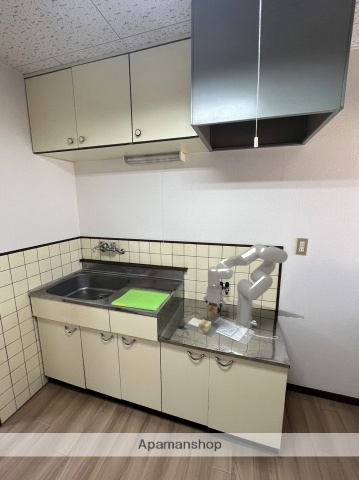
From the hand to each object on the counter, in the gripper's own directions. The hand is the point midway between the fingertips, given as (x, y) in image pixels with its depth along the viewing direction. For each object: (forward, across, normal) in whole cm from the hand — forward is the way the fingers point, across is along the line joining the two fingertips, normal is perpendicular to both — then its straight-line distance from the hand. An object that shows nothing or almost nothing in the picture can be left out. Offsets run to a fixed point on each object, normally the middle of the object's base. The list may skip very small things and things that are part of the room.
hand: (214, 310), depth 146 cm
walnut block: (+2, 0, 0) cm, 2 cm away
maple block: (+11, +3, +8) cm, 14 cm away
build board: (+12, +7, +4) cm, 14 cm away
